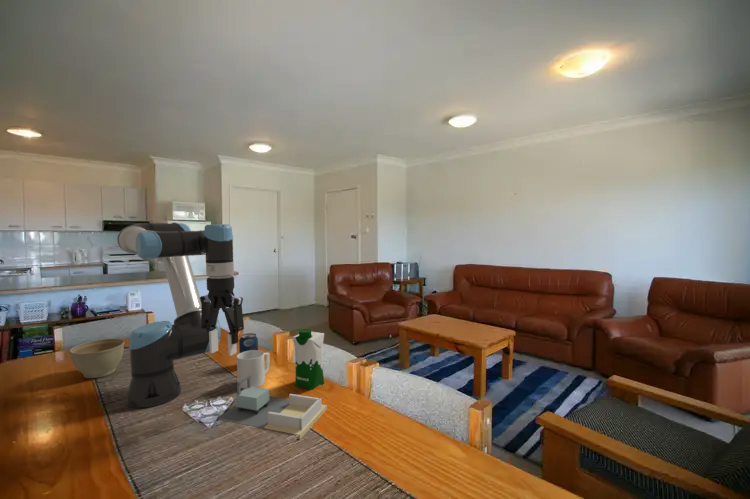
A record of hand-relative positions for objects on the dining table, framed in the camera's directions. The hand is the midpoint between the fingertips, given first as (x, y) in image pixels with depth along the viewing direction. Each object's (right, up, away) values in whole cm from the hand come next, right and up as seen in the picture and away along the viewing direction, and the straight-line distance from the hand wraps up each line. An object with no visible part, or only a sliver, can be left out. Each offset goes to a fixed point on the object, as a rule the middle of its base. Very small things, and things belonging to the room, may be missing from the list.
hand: (223, 352), depth 109 cm
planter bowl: (-58, -16, +27) cm, 66 cm away
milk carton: (+23, -16, +15) cm, 32 cm away
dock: (+16, -17, -4) cm, 24 cm away
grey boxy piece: (+10, -16, -2) cm, 19 cm away
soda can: (-4, -15, +34) cm, 37 cm away
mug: (+4, -16, +17) cm, 23 cm away
